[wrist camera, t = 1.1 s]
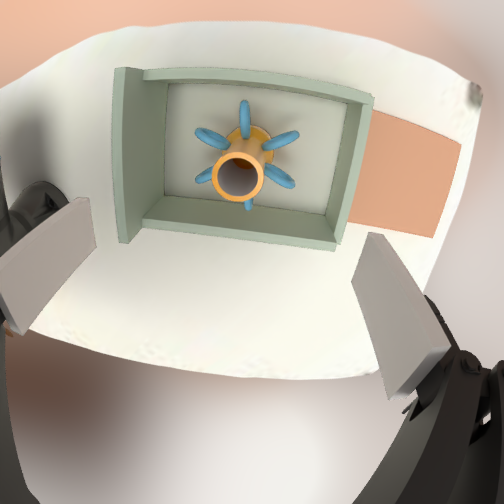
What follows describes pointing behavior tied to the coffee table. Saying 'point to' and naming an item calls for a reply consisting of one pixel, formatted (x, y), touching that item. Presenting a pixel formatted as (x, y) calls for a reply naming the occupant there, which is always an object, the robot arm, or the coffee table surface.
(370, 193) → the terracotta tile
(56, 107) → the coffee table surface
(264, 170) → the orange tube
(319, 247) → the box
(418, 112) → the coffee table surface
